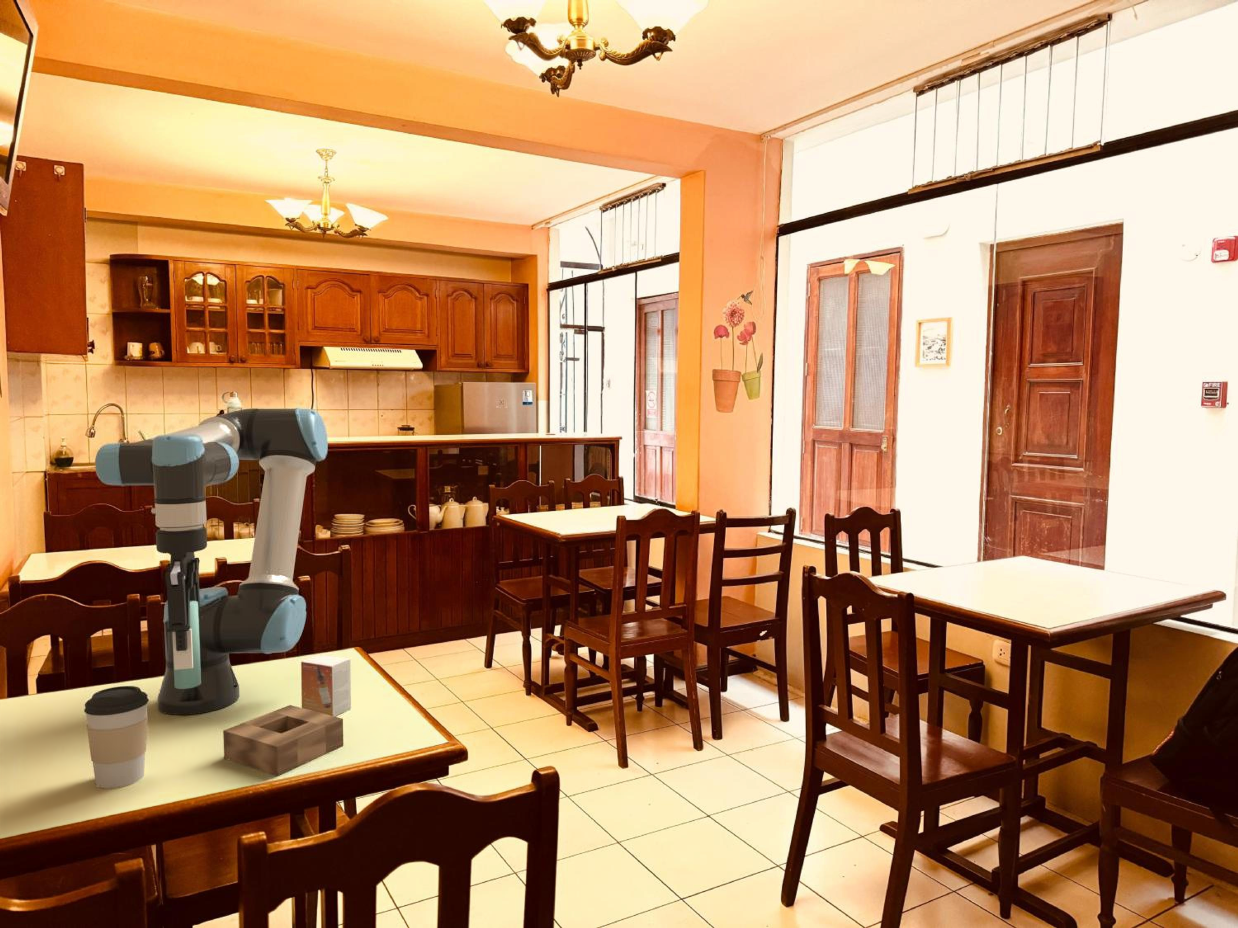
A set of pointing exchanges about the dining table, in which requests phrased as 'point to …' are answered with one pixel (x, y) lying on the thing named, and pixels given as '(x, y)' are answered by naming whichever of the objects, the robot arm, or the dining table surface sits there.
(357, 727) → the dining table surface
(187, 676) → the peg
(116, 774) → the coffee cup
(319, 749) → the socket
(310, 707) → the small box
